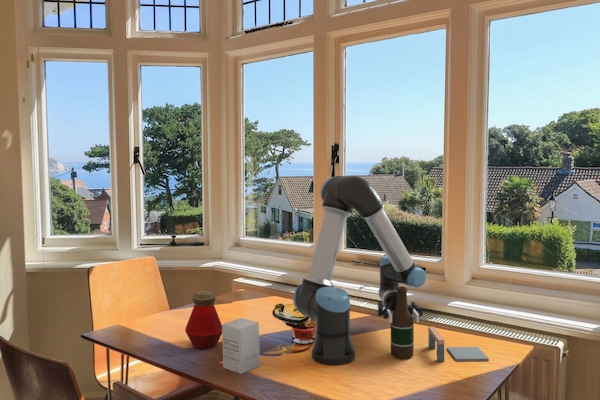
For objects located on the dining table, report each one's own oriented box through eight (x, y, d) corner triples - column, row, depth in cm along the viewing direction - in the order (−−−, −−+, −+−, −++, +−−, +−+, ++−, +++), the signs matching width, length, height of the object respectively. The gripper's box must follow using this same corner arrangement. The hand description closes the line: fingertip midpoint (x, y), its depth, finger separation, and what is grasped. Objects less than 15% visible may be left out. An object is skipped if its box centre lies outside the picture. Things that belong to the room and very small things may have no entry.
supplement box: (242, 359, 170) (240, 317, 169) (260, 365, 165) (259, 321, 164) (222, 367, 163) (221, 323, 162) (241, 374, 158) (239, 328, 157)
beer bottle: (413, 360, 167) (413, 290, 165) (390, 358, 168) (390, 289, 167) (413, 352, 174) (413, 285, 173) (391, 350, 176) (390, 284, 175)
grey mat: (455, 361, 165) (455, 358, 165) (446, 349, 176) (446, 347, 176) (488, 360, 165) (488, 358, 165) (477, 349, 176) (477, 346, 176)
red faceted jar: (177, 344, 186) (176, 292, 185) (207, 335, 196) (206, 286, 194) (201, 355, 175) (199, 299, 174) (231, 345, 184) (230, 292, 183)
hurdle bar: (438, 344, 165) (438, 339, 165) (428, 330, 179) (428, 326, 179) (444, 344, 165) (444, 339, 165) (433, 330, 179) (433, 326, 179)
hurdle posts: (438, 361, 165) (438, 344, 165) (428, 346, 179) (428, 330, 179) (444, 361, 165) (444, 344, 165) (433, 346, 179) (433, 330, 179)
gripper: (421, 310, 188) (435, 329, 166) (365, 311, 189) (373, 330, 166) (421, 291, 188) (435, 307, 165) (365, 291, 189) (373, 308, 166)
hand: (404, 318), depth 166 cm, fingers open, 8 cm apart
